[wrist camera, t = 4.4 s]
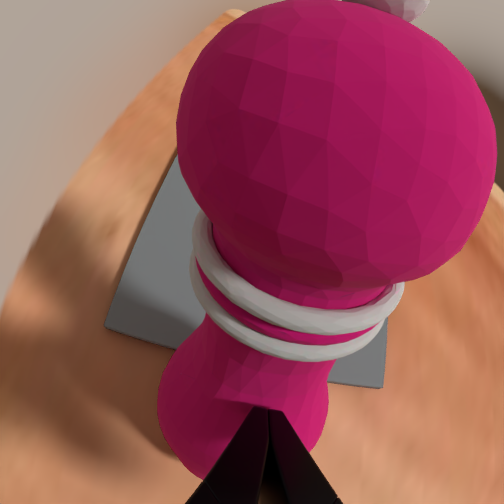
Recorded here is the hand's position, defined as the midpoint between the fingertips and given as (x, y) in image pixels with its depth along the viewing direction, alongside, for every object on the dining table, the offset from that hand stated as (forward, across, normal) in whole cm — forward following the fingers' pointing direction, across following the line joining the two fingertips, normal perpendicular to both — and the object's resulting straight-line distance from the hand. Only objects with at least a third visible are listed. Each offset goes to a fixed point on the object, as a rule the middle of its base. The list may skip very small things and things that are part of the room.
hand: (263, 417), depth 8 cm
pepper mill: (+6, 0, +8) cm, 9 cm away
